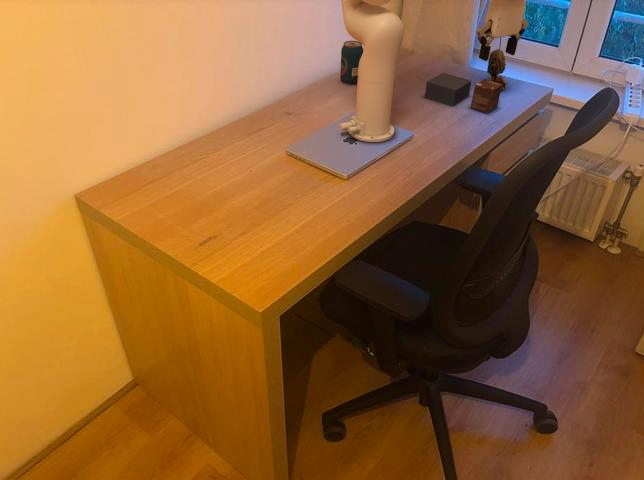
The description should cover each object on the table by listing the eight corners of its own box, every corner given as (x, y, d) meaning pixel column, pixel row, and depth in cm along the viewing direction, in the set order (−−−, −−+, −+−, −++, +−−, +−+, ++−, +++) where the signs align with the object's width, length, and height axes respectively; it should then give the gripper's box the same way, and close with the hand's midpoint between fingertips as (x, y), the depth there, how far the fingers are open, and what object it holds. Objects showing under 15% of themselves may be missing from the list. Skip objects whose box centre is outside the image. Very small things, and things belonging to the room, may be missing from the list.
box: (497, 108, 161) (503, 84, 157) (487, 114, 158) (493, 90, 153) (479, 102, 164) (484, 78, 160) (469, 108, 161) (474, 84, 156)
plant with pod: (473, 88, 172) (487, 22, 159) (489, 78, 179) (504, 14, 166) (497, 95, 169) (513, 28, 155) (512, 84, 175) (529, 19, 162)
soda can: (337, 78, 177) (338, 41, 169) (356, 76, 179) (359, 39, 171) (344, 86, 172) (346, 48, 164) (364, 84, 174) (367, 46, 166)
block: (452, 106, 162) (455, 90, 158) (424, 97, 167) (426, 81, 163) (468, 96, 168) (471, 80, 164) (440, 87, 172) (443, 72, 169)
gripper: (525, -17, 146) (510, 47, 157) (475, -10, 140) (463, 57, 151) (546, -11, 141) (529, 55, 152) (495, -3, 135) (481, 66, 146)
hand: (496, 56), depth 151 cm, fingers open, 9 cm apart
